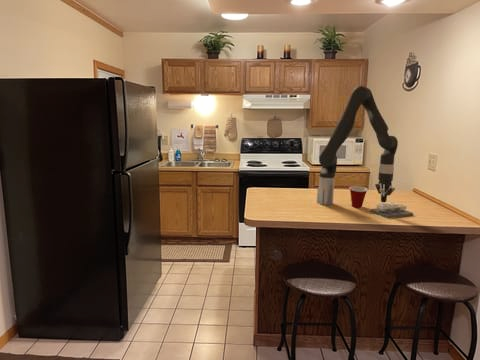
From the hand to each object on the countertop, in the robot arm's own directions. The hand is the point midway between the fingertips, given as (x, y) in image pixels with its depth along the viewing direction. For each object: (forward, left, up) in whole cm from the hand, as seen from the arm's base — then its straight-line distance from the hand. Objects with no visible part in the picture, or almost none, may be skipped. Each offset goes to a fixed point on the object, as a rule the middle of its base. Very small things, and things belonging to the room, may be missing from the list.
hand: (383, 202), depth 192 cm
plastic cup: (-3, +18, -8) cm, 20 cm away
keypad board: (+6, 0, -7) cm, 10 cm away
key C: (+13, 0, -7) cm, 14 cm away
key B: (+6, 0, -5) cm, 8 cm away
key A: (0, 0, -5) cm, 5 cm away
